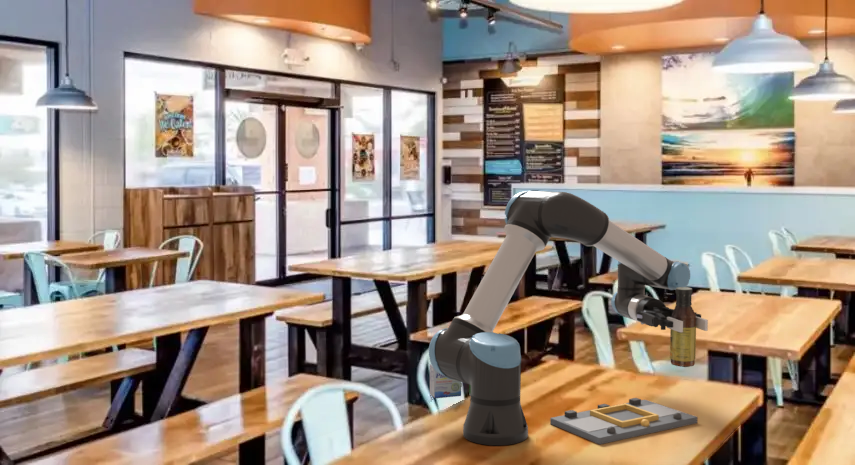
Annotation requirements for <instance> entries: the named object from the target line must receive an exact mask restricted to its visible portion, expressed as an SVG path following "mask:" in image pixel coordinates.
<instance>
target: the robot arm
mask: <svg viewBox="0 0 855 465" xmlns="http://www.w3.org/2000/svg"><path fill="white" fill-rule="evenodd" d="M504 215H505V217H504V222H505V225H504V228H503V230H504V232H505V238H504V239H503V241H502V243H501V245H500V246H499V248H498V249H497V252H496V254H495V256H494V258H493V259H492V261H491V262H490V264H489V266H488V269H487V270H486V271H485V273H484V275H483V278H482V279H481V281H480V283H479V284H478V286H477V288H476V290H474V293H473V295H472V297H471V299H470V300H469V303H468V304H467V306H466V308H465V310H464V312H463V313H462V314H461V315H457V316H454V318H452V321H451V322H450V324H449V325H448V328H447V327H446V328H443V329H440V330H437V332H435V333H434V335H433V336H432V338H431V340H430V342H429V346H428V356H429V362H430V364H431V365H432V366H433V368H434V369H435V370H436V371H437V372H438V373H439V374H441V375H444V376H445V377H446V378H449V379H454V380H457V381H460V382H461V383H463V384H467V385H468V386H469V385H471V396H470V402H469V407H468V409H467V412H466V416H465V421H464V423H463V428H462V431H463V433H462V434H463V435H462V436H463V438H465V439H466V440H467V441H470V442H472V443H475V444H480V445H486V446H509V445H515V444H519V443H522V442H524V441H526V440H527V438H529V427H528V423H527V420H526V418H525V417H526V416H525V414H524V411H523V407H522V405H521V387H522V386H521V383H522V382H521V381H522V379H521V378H522V376H521V375H522V372H521V371H522V355H521V346H520V343H519V342H518V340H517V339H516V338H514V337H513V336H510V335H507V334H505V333H496V332H494V330H495V328H496V327H497V324H498V322H499V321H500V319H501V318H502V317H501V316H503V314H504V312H505V309H506V308H507V306H508V304H509V302H510V301H511V298H512V297H513V295H514V293H515V291H516V289H517V288H518V286H519V284H520V281H521V280H522V278H523V276H524V275H525V273H526V271H527V269H528V267H529V265H530V263H531V262H532V259H533V258H534V256H535V254H536V253H537V252H540V251H543V250H545V248H546V247H547V244H548V243H549V241H550V239H551V238H553V239H554V238H555V239H556V238H557V239H566V240H571V241H575V242H578V243H580V244H582V245H584V246H585V247H595V248H596V249H598V250H599V251H601V252H603V253H604V254H606V255H607V256H609V257H611V258H612V259H614V260H616V261H617V264H616V265H617V288H616V291H615V292H614V294H613V295H612V297H611V299H610V300H611V302H610V304H611V307H612V310H613V311H614V312H615V313H616V314H618V315H620V316H621V317H624V318H628V319H630V320H633V321H636V322H637V323H638V322H639V323H640V325H645V326H649V327H653V328H658V327H659V326H660V330H661V331H665V330H666V329H670V330H671V329H672V330H675V331H678V332H683V321H680V320H677V319H674V318H671V316H672V314H673V311H674V309H675V308H670V307H667V306H666V304H665V303H664V302H663V301H662V300H660V299H658V298H655V297H652V296H648V295H646V294H645V290H646V286H648V287H654V288H659V289H666V290H669V291H674V290H675V291H676V288H677V287H688V285H689V282H690V280H691V270H690V267H689V266H688V265H687V264H686V263H684V262H681V261H680V262H679V261H673V260H671V259H670V258H667V257H666V256H664V255H662V254H661V253H659V252H658V251H656V250H655V249H653V248H652V247H651V246H649V245H647V244H646V243H644V242H643V241H641V240H639V239H638V238H636V237H635V236H634V235H632V234H631V233H629V232H627V231H626V230H624V229H622V228H621V227H620V226H618V225H617V224H616V223H614V222H612V221H611V220H610V218H609V216H608V214H607V213H606V212H604V210H601V209H600V208H598V207H597V206H595V205H593V204H592V203H591V202H589V201H587V200H586V199H583V198H582V197H580V196H578V195H575V194H573V193H571V192H567V191H543V190H539V189H538V190H537V189H529V190H523V191H519V192H518V193H516V194H514V195H513V196H512V197H511V198H510V199H509V201H508V202H507V204H506V206H505V210H504ZM694 312H695V311H694ZM695 315H696V329H698V330H701V331H705V332H707V331H708V330H709V329H708V328H709V325H708V324H709V319H706V318H703V317H702V314H700V313H697V312H695Z"/></svg>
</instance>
